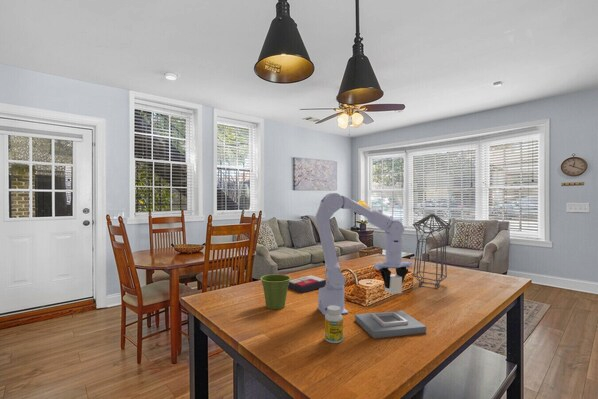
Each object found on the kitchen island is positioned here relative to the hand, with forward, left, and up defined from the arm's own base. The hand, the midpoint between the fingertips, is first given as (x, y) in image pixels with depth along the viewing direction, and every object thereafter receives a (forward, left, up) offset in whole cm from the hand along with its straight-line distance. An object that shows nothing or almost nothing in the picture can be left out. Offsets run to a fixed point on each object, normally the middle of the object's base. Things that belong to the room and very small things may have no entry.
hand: (393, 287), depth 116 cm
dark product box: (-25, +35, -9) cm, 44 cm away
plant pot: (-43, +13, -9) cm, 46 cm away
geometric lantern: (+35, +25, -9) cm, 44 cm away
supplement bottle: (-30, -18, -9) cm, 36 cm away
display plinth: (-9, -13, -9) cm, 18 cm away
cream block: (0, 0, -2) cm, 2 cm away
